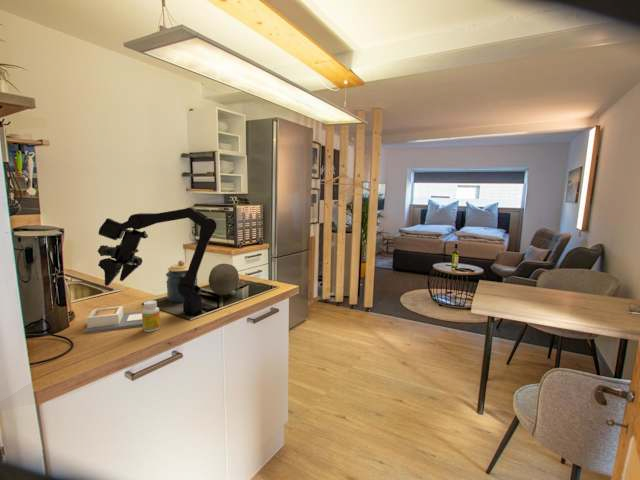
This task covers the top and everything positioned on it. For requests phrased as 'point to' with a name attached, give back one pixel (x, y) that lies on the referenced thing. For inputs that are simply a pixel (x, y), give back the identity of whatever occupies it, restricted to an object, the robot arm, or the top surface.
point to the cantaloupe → (223, 279)
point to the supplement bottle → (150, 316)
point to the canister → (175, 281)
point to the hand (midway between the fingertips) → (113, 283)
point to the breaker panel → (111, 320)
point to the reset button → (106, 312)
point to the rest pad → (134, 317)
